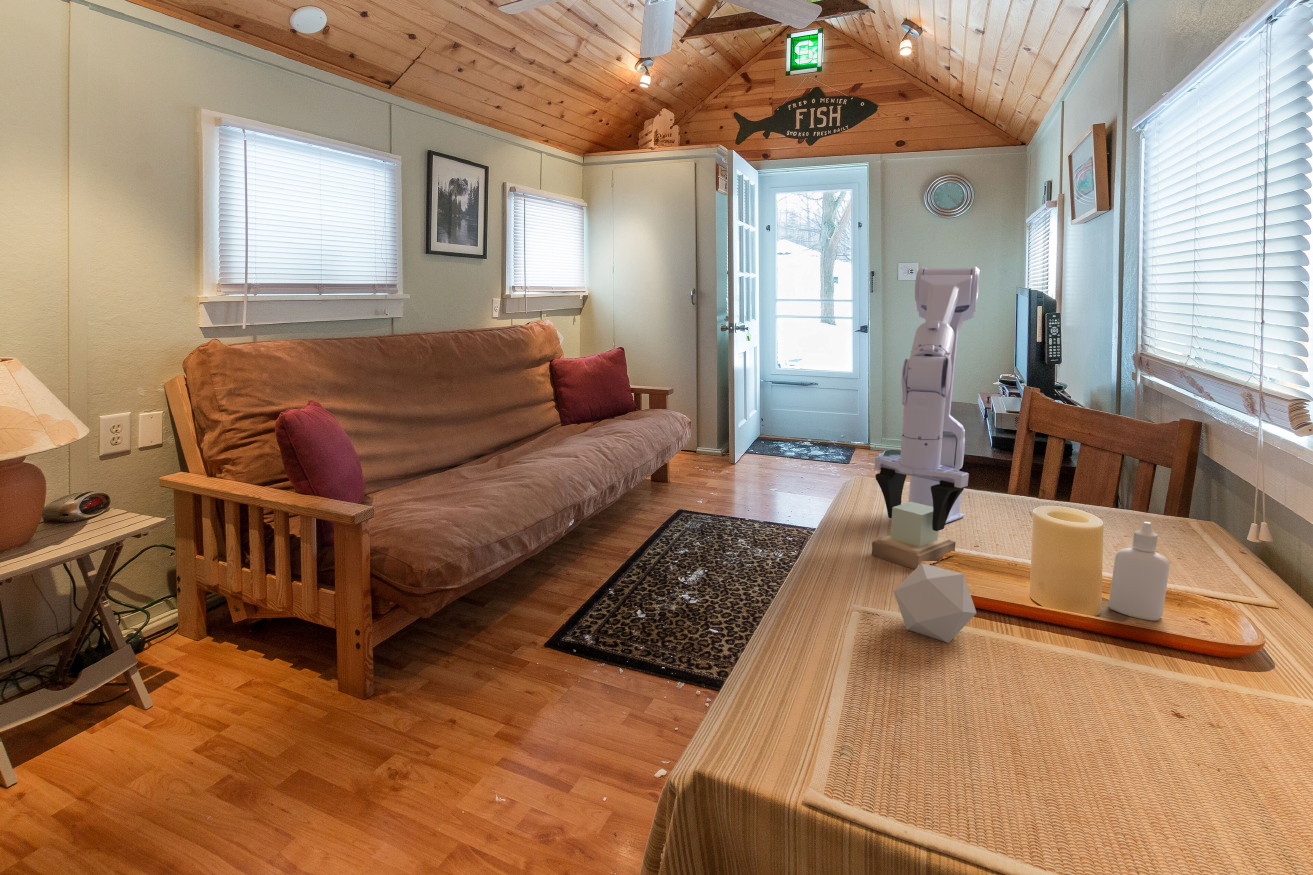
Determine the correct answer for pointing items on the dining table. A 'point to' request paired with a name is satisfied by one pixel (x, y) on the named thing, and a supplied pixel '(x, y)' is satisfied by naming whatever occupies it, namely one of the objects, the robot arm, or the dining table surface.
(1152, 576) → the eye dropper bottle
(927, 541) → the sage block
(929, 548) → the plinth
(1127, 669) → the dining table surface
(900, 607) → the die
